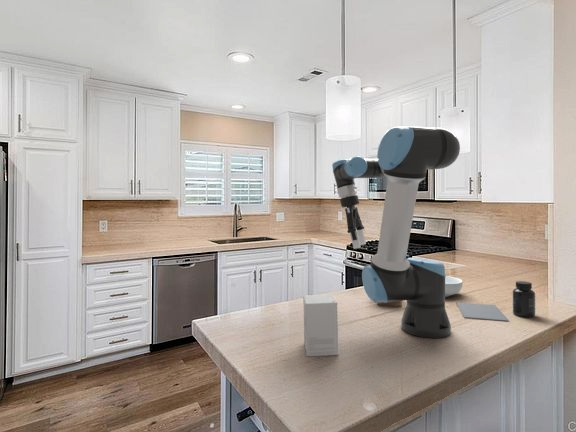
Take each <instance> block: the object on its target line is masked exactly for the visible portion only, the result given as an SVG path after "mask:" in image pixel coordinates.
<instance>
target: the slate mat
mask: <svg viewBox="0 0 576 432" xmlns="http://www.w3.org/2000/svg"><path fill="white" fill-rule="evenodd" d="M455 304H456V306H457V308H458V307H459V308H458V309H459V311H460V312H461V315H462V317H463V318H464V319H473V320H474V319H475V320H484V321H487V320H488V321H498V322H499V321H500V322H510V320H509V318H507V316H506V315H505V314H504V313H503V312H502V311H501V309H500V308H498V306H496V304H488V303H487V304H485V303H483V304H482V303H470V302H455Z"/></svg>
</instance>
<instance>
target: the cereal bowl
mask: <svg viewBox="0 0 576 432" xmlns="http://www.w3.org/2000/svg"><path fill="white" fill-rule="evenodd" d="M445 276H446V277H445V298H447V297H451V296H453V295H456V294H459V293H460V292H461V290H462V288H463V280H462V279H461V278H458V277H455V276H449V275H445Z"/></svg>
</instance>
